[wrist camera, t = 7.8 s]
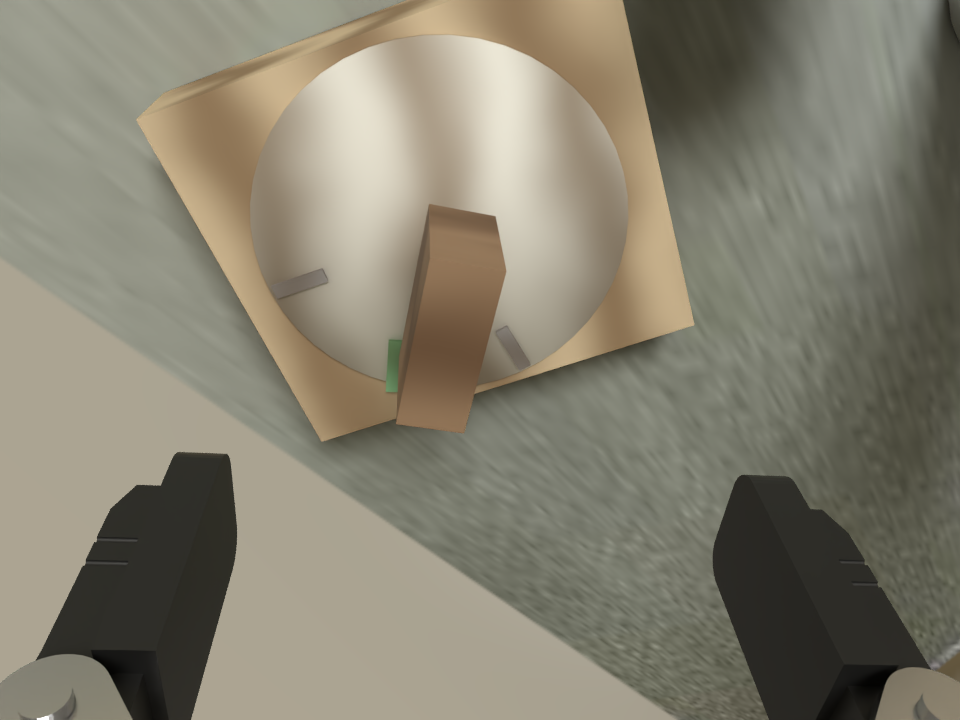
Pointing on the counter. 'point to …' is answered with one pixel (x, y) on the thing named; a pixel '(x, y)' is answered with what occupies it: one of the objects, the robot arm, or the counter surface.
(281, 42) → the counter surface
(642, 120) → the dial board
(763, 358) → the counter surface
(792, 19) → the counter surface
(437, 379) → the key
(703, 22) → the counter surface
